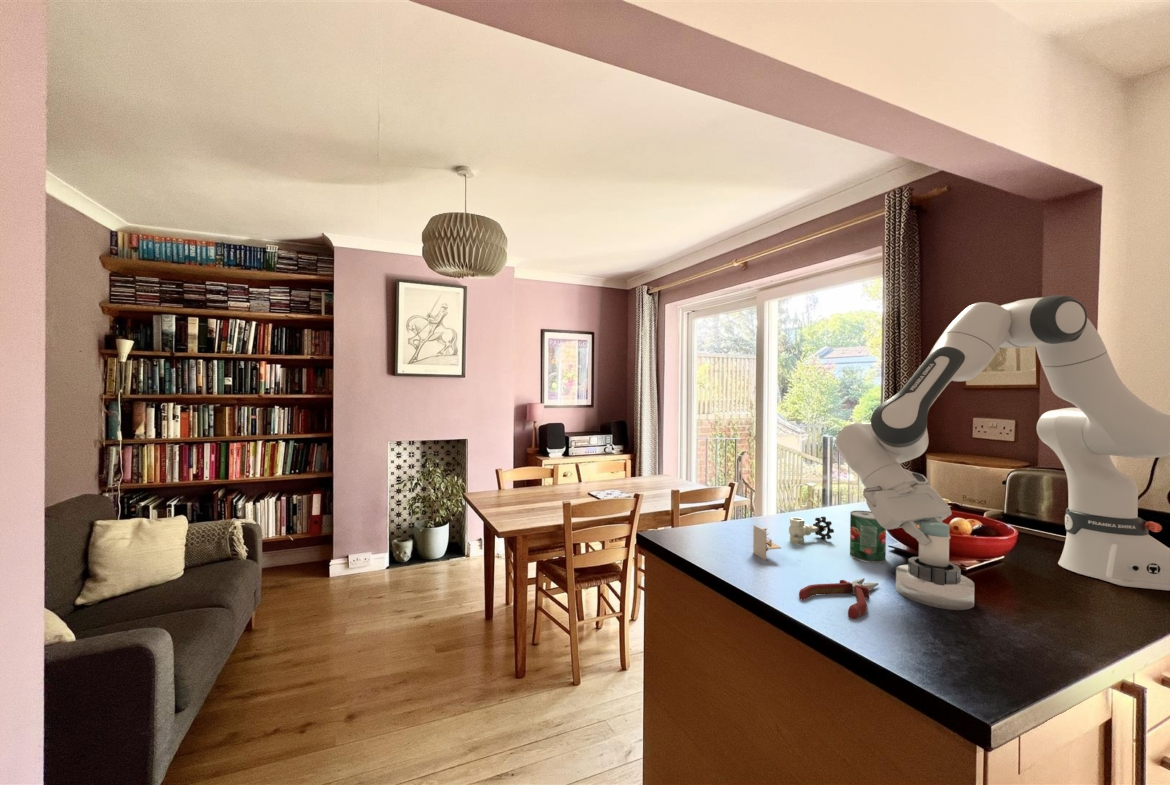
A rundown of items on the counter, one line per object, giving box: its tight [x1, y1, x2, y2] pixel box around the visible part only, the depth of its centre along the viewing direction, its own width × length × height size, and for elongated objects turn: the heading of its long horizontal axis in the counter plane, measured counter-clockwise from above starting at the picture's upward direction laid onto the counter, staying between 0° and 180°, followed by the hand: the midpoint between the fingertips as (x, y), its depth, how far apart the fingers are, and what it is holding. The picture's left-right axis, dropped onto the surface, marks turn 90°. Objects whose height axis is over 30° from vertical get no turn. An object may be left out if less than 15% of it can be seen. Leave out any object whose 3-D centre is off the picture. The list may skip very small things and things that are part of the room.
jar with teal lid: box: [918, 520, 950, 567], centre depth 97 cm, size 5×5×8 cm
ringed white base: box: [895, 556, 975, 611], centre depth 98 cm, size 13×16×7 cm
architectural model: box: [752, 524, 782, 561], centre depth 118 cm, size 3×7×7 cm, turn 11°
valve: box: [788, 516, 835, 545], centre depth 132 cm, size 7×7×12 cm
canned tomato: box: [849, 510, 887, 564], centre depth 119 cm, size 8×8×11 cm
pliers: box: [798, 577, 879, 620], centre depth 96 cm, size 12×20×3 cm, turn 126°
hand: (937, 542), depth 96 cm, fingers closed on jar with teal lid, 5 cm apart
